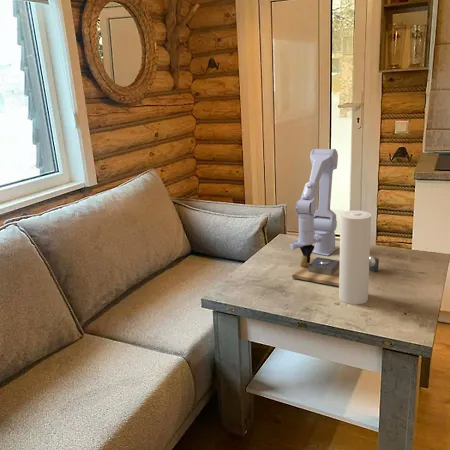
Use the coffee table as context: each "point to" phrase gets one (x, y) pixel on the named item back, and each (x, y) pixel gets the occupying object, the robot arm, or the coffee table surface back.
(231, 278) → the coffee table surface
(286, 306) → the coffee table surface
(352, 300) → the cylinder container
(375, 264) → the dial indicator
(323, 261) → the cover
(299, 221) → the robot arm
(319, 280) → the wooden base with peg
